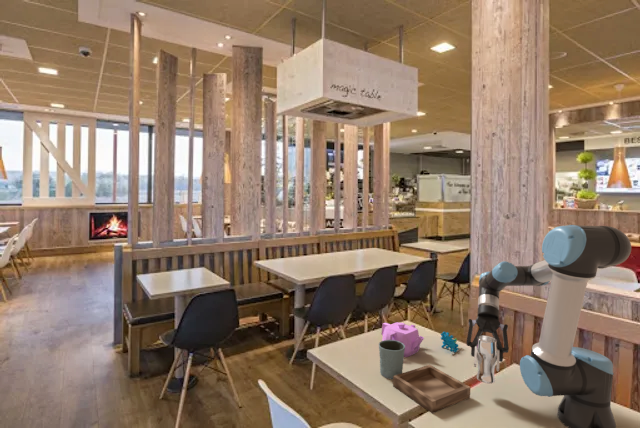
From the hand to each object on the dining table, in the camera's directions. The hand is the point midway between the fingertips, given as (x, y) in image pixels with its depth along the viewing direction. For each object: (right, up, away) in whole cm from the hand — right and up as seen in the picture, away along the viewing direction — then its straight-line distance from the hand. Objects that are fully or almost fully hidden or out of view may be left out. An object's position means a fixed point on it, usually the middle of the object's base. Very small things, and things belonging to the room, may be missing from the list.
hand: (486, 367), depth 130 cm
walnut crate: (-18, -11, +5) cm, 22 cm away
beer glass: (+1, -6, +4) cm, 7 cm away
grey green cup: (-30, -10, +18) cm, 36 cm away
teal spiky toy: (+2, -9, +42) cm, 43 cm away
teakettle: (-21, -9, +41) cm, 46 cm away
